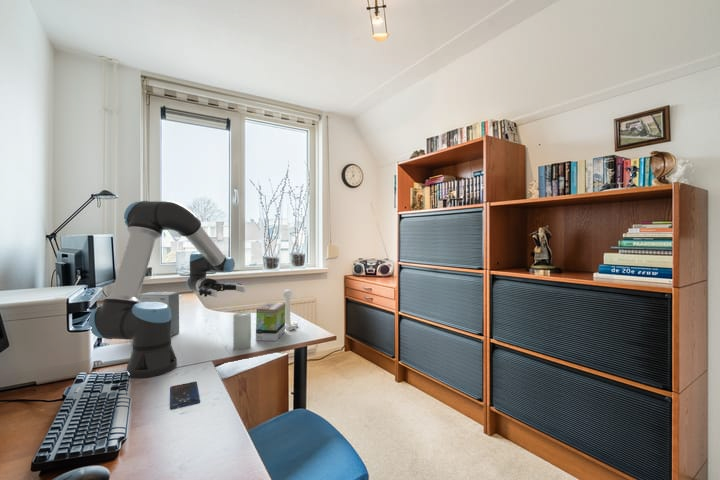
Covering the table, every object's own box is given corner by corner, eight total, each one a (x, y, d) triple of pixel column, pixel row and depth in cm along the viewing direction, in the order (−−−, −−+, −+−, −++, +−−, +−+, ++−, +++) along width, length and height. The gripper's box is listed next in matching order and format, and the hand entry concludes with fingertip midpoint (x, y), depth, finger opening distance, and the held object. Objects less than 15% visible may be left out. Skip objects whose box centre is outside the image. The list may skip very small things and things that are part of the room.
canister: (239, 351, 135) (239, 317, 135) (230, 347, 139) (230, 314, 139) (254, 346, 140) (254, 314, 140) (244, 343, 145) (245, 311, 144)
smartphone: (196, 380, 107) (200, 401, 94) (196, 383, 107) (200, 404, 94) (169, 386, 103) (169, 408, 90) (169, 388, 103) (169, 411, 90)
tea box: (277, 341, 147) (277, 309, 147) (255, 341, 148) (255, 308, 147) (285, 331, 162) (285, 302, 162) (265, 331, 163) (265, 301, 162)
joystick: (279, 325, 172) (279, 288, 171) (293, 323, 176) (293, 286, 176) (287, 331, 163) (287, 291, 162) (301, 328, 167) (301, 290, 166)
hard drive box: (180, 333, 158) (179, 292, 158) (169, 338, 151) (169, 295, 150) (150, 331, 160) (150, 291, 160) (138, 336, 152) (138, 294, 152)
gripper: (231, 290, 169) (255, 295, 156) (180, 297, 149) (202, 304, 136) (231, 275, 169) (254, 279, 155) (180, 281, 149) (202, 286, 136)
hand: (230, 291), depth 146 cm, fingers open, 13 cm apart
